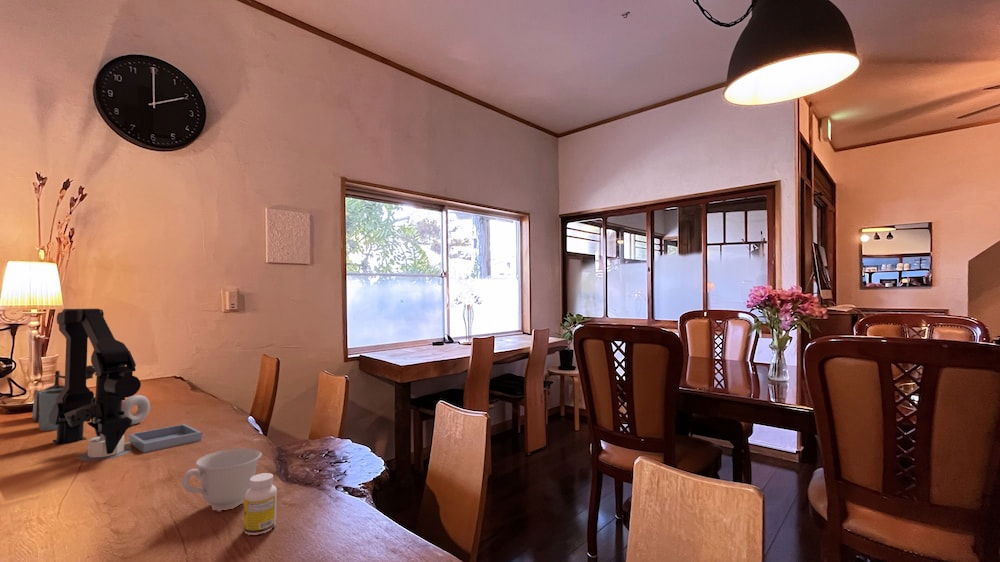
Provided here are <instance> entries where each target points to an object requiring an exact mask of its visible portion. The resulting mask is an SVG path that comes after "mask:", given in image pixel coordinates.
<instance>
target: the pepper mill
mask: <svg viewBox="0 0 1000 562" xmlns="http://www.w3.org/2000/svg"><path fill="white" fill-rule="evenodd" d="M60 372H61V371H60V370H55V372H54V377H55V380H54V381H55V382H54V384H53V385H52V386H48V387H46V388H45V389H42V390H35V391H34V394H33V405H32V407H33V408H32V415H31V416H32V420H33V419H34V420H33V421H35V422H34V423H39V417H40V416H39V411H40V410H39V392H41V391H45V390H51V389H61V388H64V387H65V385H61V384H59V383H60V382H59V379H60V378H61V379H65V375H60V374H61V373H60ZM95 373H96V371H95V369H94V367H93V365H92V364H91V365H87V375H86V381H87V380H89V379H93V378H94V375H95Z"/></svg>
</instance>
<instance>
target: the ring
mask: <svg viewBox="0 0 1000 562" xmlns="http://www.w3.org/2000/svg"><path fill="white" fill-rule="evenodd" d="M125 440H126V438H125V435H123V436H122V438H121V439H120V441H119V443H118V444H117V446H116V448H115V450H114V451H113V453H111V454H107V451H106V445H105V441H100V436H98V437H97V436H95V437H92V438H90V439H88V440H87V441H88V444H87V453H88V456H89V457H91V458H93V457H106V456H110V455H115V454H118V453H120V452H122V451H124V450H126V449H131V448H132V447H131V443H130V442H129V441H126V442H125Z"/></svg>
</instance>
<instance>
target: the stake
mask: <svg viewBox="0 0 1000 562" xmlns="http://www.w3.org/2000/svg"><path fill="white" fill-rule="evenodd" d="M100 441H105V439H104V435H103V434H101V433H100ZM132 451H133V448H132V447H131V449H126V450H124V451H122V452H120V453H118V454H115V455H110V456H106V457H93V458H91V457H89V456H88V452H85V453H83V454H81V455H79V456H78V458H77V459H78V460H79V461H82V462H96V461H104V460H110V459H114V458H117V457H118V458H119V457H122V456H124V455H127V454H129V453H131V452H132Z"/></svg>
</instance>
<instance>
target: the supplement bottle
mask: <svg viewBox="0 0 1000 562" xmlns="http://www.w3.org/2000/svg"><path fill="white" fill-rule="evenodd" d="M273 483H274V475H273V474H272V473H270V472H264V473H258V474H255V476H252V477H251V478H250V482H249V487H250V489H249V490H248V491H247V492H246V494H245V497H244V510H243V511H244V512H243V515H244V518H243V532H244V531H245V533H248V534H255V533H261V532H264V531H267V530H268V529H271V528H272V527H273V526H275V524H276V525H277V506H278V505H277V501H278V500H277V498H278V488H277V487H276V485H274V484H273ZM275 527H276V526H275ZM245 533H244V534H245Z"/></svg>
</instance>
